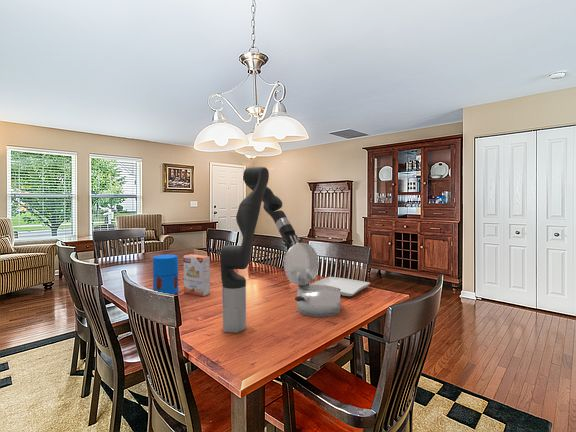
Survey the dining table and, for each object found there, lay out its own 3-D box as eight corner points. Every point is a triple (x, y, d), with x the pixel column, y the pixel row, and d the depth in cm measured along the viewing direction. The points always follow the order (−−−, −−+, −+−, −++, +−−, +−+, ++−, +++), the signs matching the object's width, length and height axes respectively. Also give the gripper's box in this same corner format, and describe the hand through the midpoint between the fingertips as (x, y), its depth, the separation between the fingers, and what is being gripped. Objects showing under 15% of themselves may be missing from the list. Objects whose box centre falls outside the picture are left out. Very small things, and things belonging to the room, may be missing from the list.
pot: (283, 308, 149) (283, 290, 148) (324, 298, 164) (324, 281, 163) (311, 322, 132) (311, 301, 132) (353, 309, 148) (353, 290, 147)
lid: (287, 289, 150) (284, 289, 152) (320, 283, 162) (317, 282, 164) (283, 244, 151) (281, 244, 153) (316, 241, 164) (313, 241, 165)
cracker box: (183, 293, 173) (182, 255, 172) (191, 290, 178) (191, 253, 177) (202, 297, 166) (202, 257, 165) (210, 294, 172) (210, 255, 171)
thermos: (170, 314, 141) (169, 259, 139) (148, 313, 143) (147, 258, 141) (183, 306, 151) (182, 255, 150) (162, 305, 153) (161, 254, 152)
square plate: (370, 288, 185) (370, 281, 185) (352, 300, 162) (352, 293, 162) (329, 281, 200) (329, 275, 200) (307, 291, 177) (307, 284, 177)
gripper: (277, 224, 161) (292, 251, 152) (298, 222, 169) (312, 248, 160) (271, 233, 166) (285, 260, 157) (291, 231, 174) (305, 257, 165)
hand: (299, 254), depth 159 cm, fingers closed
